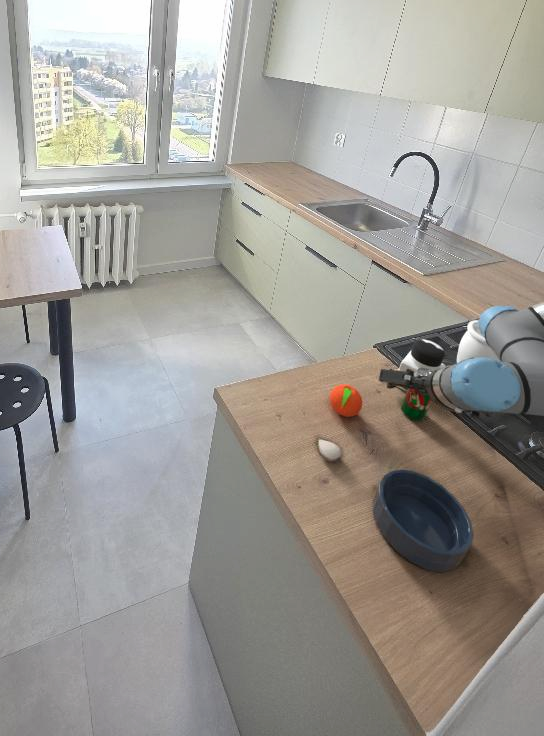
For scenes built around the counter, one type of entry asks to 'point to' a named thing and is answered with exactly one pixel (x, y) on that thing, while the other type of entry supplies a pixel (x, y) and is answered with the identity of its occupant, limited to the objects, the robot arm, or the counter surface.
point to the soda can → (416, 400)
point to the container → (423, 357)
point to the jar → (474, 344)
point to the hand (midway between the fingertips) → (422, 393)
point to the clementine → (346, 400)
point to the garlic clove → (329, 450)
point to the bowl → (422, 520)
